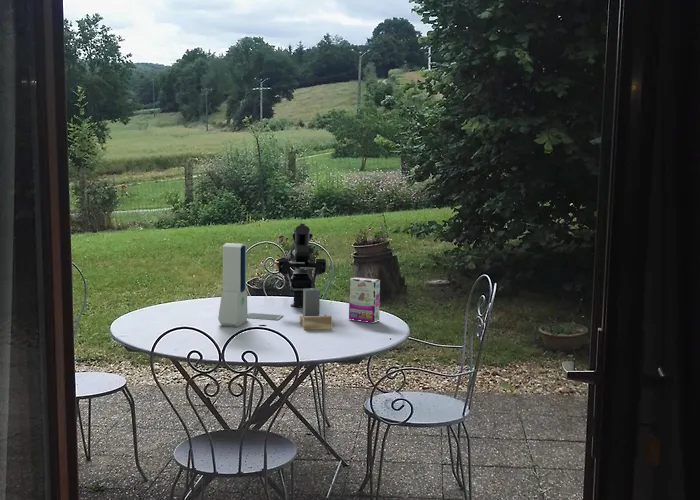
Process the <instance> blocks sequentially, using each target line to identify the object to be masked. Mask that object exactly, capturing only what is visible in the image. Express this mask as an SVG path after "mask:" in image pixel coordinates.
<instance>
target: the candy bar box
mask: <svg viewBox="0 0 700 500" xmlns="http://www.w3.org/2000/svg"><path fill="white" fill-rule="evenodd" d="M348 294H349V295H348V296H349V298H348V299H349V301H348V320H349V319H354V320H361V321H368V322H375V321H377V320H379V321H380V306H381V305H380V304H381V303H380V301H381V300H380V299H381V279H375V278H367V277H357V276H354V277H351V278H349V292H348ZM368 322H367V323H368Z"/></svg>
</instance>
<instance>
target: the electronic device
mask: <svg viewBox="0 0 700 500" xmlns="http://www.w3.org/2000/svg"><path fill="white" fill-rule="evenodd" d="M248 313H249V312H248V291H247V245H246V244H245V243H232V242H230V243H229V242H227V243H224V244H223V245H222V293H221V296H220V305H219V309H218V316H217V317H218V322H219V324H220V326H222V327H233V328H238V327H239V326H241V325H243V324H244V323H246V322H247V321H248V318H247V317H248Z"/></svg>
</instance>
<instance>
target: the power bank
mask: <svg viewBox="0 0 700 500" xmlns="http://www.w3.org/2000/svg"><path fill="white" fill-rule="evenodd" d="M320 293H321V290H320V289H319V288H318V287H312V288H303V308H302V315H303V316H320V308H321V307H320V306H321V305H320V304H321V303H320V301H321V300H320V299H321V298H320V295H321V294H320Z"/></svg>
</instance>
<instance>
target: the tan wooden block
mask: <svg viewBox="0 0 700 500" xmlns="http://www.w3.org/2000/svg"><path fill="white" fill-rule="evenodd" d="M299 316H300V317H299V324H300V325H301V327H302V328H303V330H304V331H306V330H307V331H308V330H311V331H312V330H331V329H332V319H333V317H332V316H331V315H327V314H323V315H319V316H303V314H301V315H299Z"/></svg>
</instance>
